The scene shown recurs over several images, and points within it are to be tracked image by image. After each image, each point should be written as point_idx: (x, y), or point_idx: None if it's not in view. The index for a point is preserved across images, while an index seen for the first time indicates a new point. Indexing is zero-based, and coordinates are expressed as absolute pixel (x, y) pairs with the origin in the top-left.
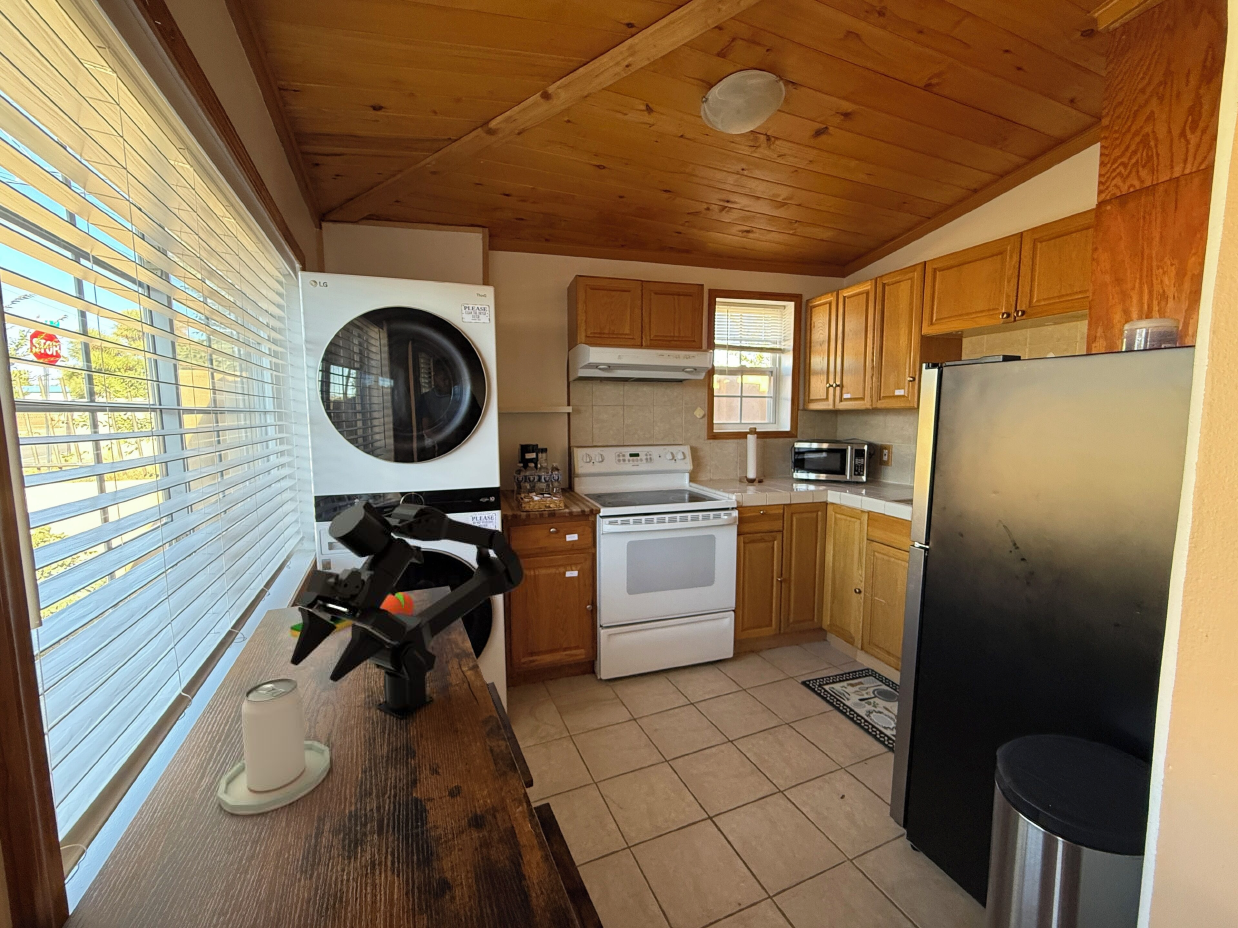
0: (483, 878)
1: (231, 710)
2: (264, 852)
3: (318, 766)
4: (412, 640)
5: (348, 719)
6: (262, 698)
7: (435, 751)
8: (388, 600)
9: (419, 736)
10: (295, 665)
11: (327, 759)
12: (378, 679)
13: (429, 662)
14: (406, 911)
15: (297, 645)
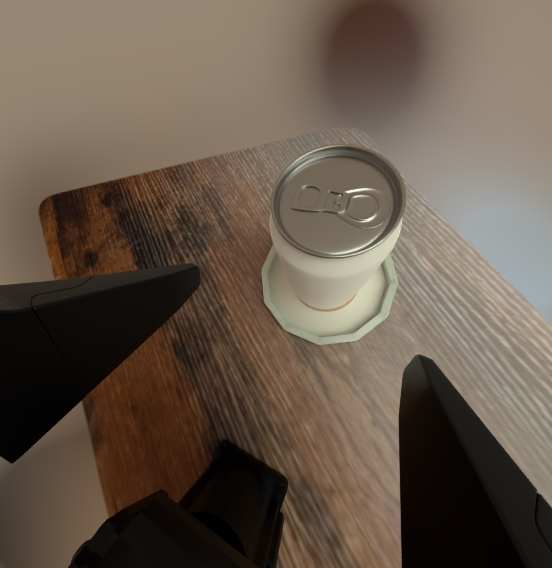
0: (81, 211)
1: None
2: (257, 195)
3: (282, 302)
4: None
5: (321, 436)
6: (328, 170)
7: (150, 357)
8: None
9: (181, 390)
10: (407, 367)
11: (269, 305)
12: None
13: None
14: (125, 181)
15: (472, 424)
